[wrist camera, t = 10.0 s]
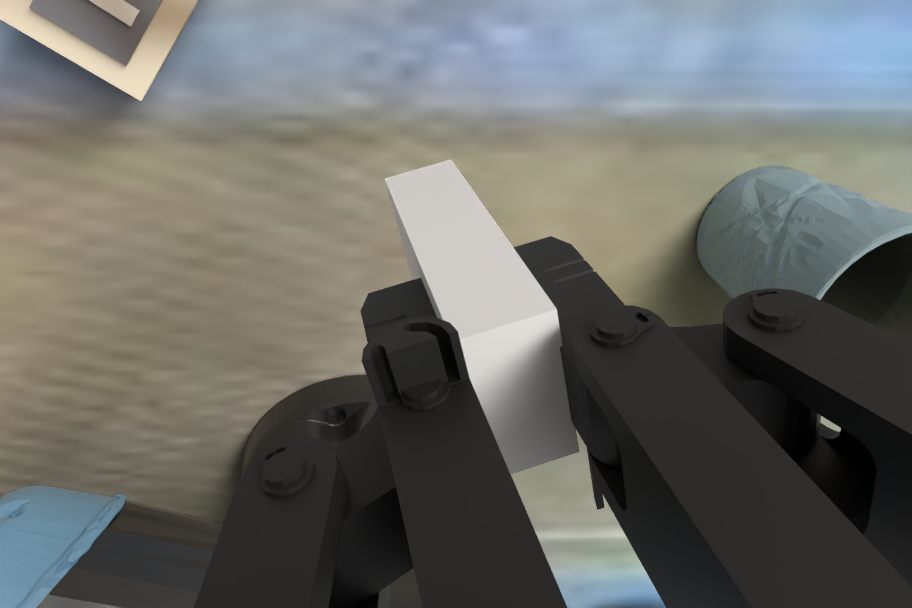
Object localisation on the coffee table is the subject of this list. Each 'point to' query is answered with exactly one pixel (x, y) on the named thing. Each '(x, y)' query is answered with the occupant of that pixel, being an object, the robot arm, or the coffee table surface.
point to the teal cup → (811, 245)
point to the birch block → (106, 34)
